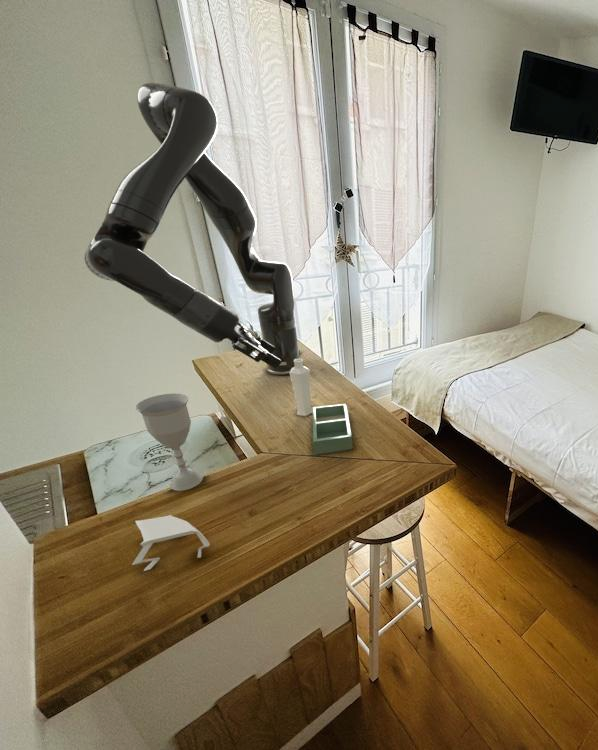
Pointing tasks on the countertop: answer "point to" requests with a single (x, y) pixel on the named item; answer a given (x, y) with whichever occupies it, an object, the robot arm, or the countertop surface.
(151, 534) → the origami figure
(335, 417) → the holder
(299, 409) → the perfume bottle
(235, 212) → the robot arm
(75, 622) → the countertop surface
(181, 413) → the chalice
